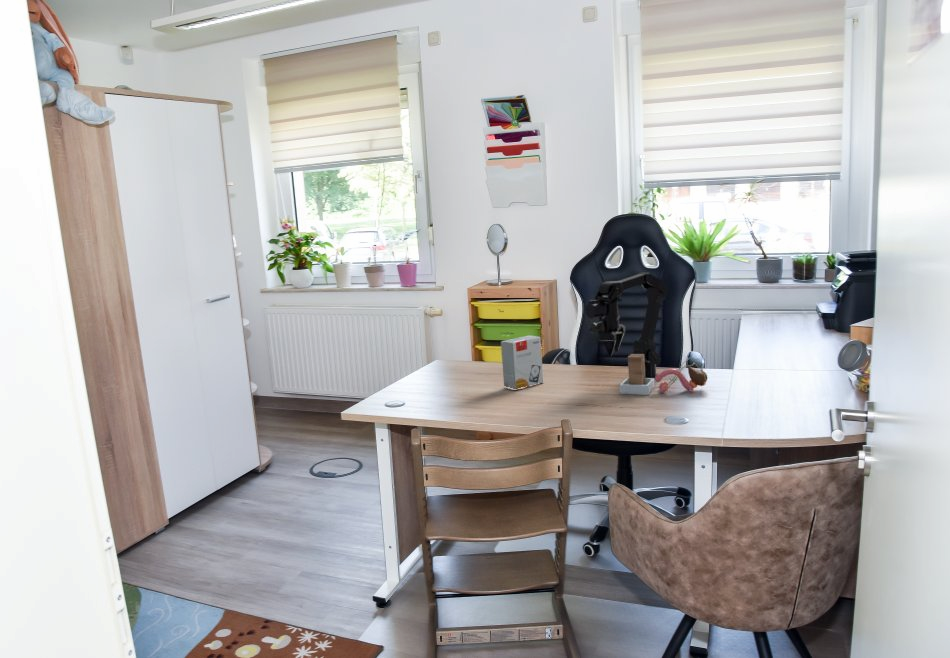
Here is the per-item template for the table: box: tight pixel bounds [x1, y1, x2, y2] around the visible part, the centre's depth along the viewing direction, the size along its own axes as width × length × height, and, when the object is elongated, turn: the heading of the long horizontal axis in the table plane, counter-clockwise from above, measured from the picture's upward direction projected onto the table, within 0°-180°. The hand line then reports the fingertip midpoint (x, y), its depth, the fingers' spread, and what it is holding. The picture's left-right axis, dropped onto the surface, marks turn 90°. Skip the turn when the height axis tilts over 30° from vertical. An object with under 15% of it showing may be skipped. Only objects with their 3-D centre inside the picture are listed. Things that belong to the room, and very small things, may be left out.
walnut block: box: [627, 353, 646, 385], centre depth 261 cm, size 5×5×13 cm
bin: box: [619, 377, 656, 396], centre depth 262 cm, size 11×11×4 cm
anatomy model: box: [654, 356, 709, 394], centre depth 255 cm, size 11×15×17 cm
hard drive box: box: [500, 335, 544, 389], centre depth 283 cm, size 16×8×20 cm, turn 126°
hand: (613, 354), depth 269 cm, fingers open, 9 cm apart
